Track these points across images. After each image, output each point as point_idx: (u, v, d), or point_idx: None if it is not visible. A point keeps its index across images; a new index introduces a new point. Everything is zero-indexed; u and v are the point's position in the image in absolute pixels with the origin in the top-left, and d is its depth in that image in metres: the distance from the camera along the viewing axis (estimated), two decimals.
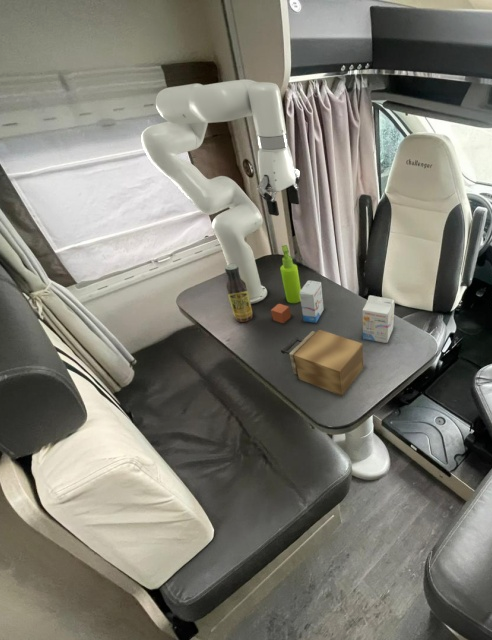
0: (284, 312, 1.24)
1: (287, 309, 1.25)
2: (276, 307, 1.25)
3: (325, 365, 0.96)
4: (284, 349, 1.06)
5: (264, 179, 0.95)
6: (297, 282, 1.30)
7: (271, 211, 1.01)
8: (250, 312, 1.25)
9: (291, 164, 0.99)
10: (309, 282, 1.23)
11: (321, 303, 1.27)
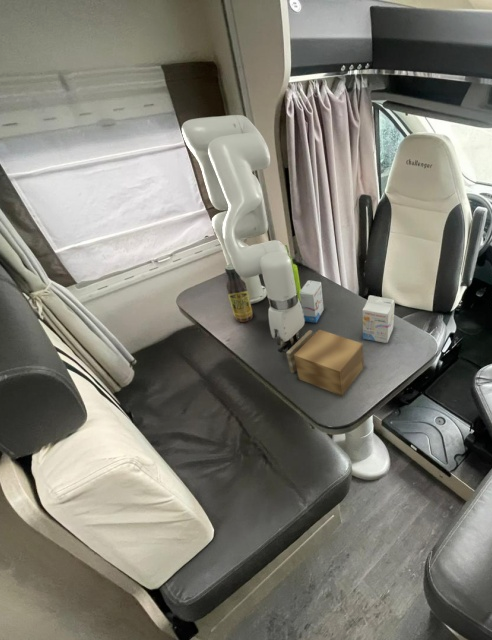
0: None
1: None
2: None
3: (325, 365, 0.96)
4: (281, 348, 1.06)
5: (279, 336, 0.99)
6: (297, 282, 1.30)
7: None
8: (250, 312, 1.25)
9: (300, 312, 1.02)
10: (309, 282, 1.23)
11: (321, 303, 1.27)
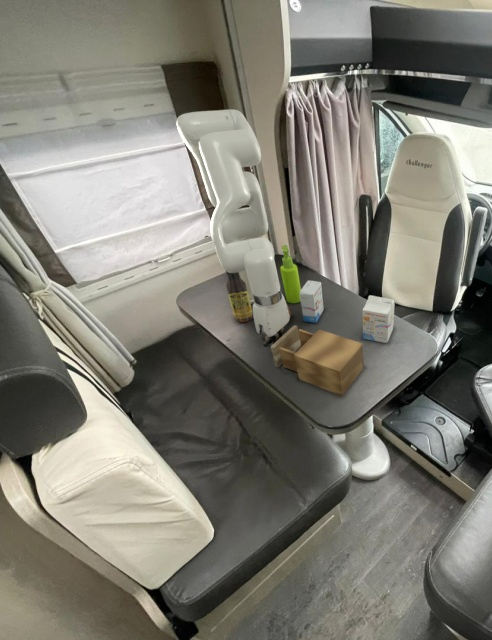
0: None
1: None
2: None
3: (325, 365, 0.96)
4: (266, 343, 1.08)
5: (263, 331, 1.01)
6: (297, 282, 1.30)
7: None
8: (250, 312, 1.25)
9: (285, 308, 1.04)
10: (309, 282, 1.23)
11: (321, 303, 1.27)
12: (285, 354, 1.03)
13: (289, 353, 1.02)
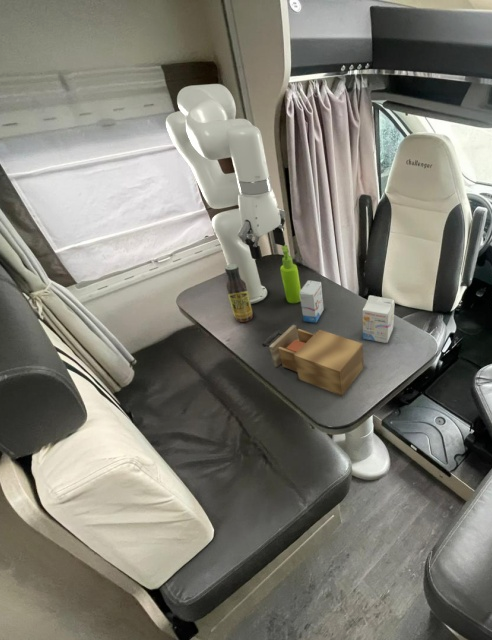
0: None
1: None
2: (292, 344, 1.07)
3: (325, 365, 0.96)
4: (265, 342, 1.08)
5: (245, 225, 0.89)
6: (297, 282, 1.30)
7: (254, 256, 0.94)
8: (250, 312, 1.25)
9: (275, 207, 0.93)
10: (309, 282, 1.23)
11: (321, 303, 1.27)
12: (283, 354, 1.03)
13: (288, 353, 1.02)
